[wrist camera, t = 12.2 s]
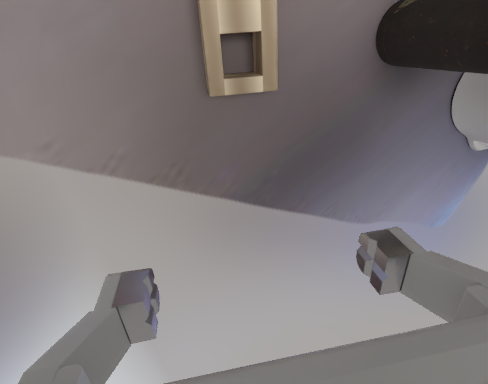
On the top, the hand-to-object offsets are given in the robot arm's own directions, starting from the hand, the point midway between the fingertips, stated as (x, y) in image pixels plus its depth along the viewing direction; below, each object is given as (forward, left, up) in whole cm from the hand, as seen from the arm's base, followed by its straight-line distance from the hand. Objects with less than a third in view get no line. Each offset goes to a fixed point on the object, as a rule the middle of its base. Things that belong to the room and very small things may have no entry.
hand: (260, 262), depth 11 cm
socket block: (-4, -10, -31) cm, 33 cm away
